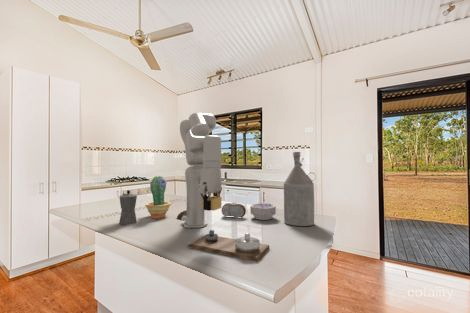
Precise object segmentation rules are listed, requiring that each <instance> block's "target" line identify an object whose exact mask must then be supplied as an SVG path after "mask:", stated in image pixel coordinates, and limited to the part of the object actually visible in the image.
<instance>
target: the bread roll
mask: <svg viewBox="0 0 470 313" xmlns="http://www.w3.org/2000/svg"><path fill="white" fill-rule="evenodd" d="M183 216H187V209H186V210H183V211H180V212H179V213H178V215H177V216H176V218H177V219H179V220H180V221H182V220H181V218H182V217H183Z"/></svg>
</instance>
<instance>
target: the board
mask: <svg viewBox="0 0 470 313" xmlns="http://www.w3.org/2000/svg"><path fill="white" fill-rule="evenodd" d="M236 239H237V238H231V237H230V238H229V237H225V236H218V241H216V242H207V241H206V234H205V235H202V236H201V237H199V238H197V239H195V240H192V241H191V242H189V243H188V248H191V249H195V250H199V251H204V252H208V253H209V252H210V253H212V254H213V253H215V254H220V255H223V256H227V257H231V258H232V257H233V258H238V259H243V260H247V261H253V262H255V263H256V262H258V261H260V260H261V258H262V257H264V255H265V254H266V253H267V252H268V251H269V250H270V244H267V243H266V244H265V243H260V242H259V251H258V252H256V253H250V254H246V253H240V252H238V251H236V250H235V240H236Z"/></svg>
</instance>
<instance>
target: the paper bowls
mask: <svg viewBox="0 0 470 313" xmlns="http://www.w3.org/2000/svg"><path fill="white" fill-rule="evenodd" d="M249 207H250V214H251V215H252V216H253V217H254V219H255V218H256V220H258V219H259V220H258V221H267V220H272V218H273V217H274V216H275V215H277V211H276V210H277V209H276V205H275V204H273V203H265V202H264V203H260V202H259V203H253V204H251V205H250V206H249Z"/></svg>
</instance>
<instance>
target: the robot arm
mask: <svg viewBox="0 0 470 313" xmlns="http://www.w3.org/2000/svg"><path fill="white" fill-rule="evenodd" d="M179 123H180V125H179V133H180V137H181V139H182V142H183V144H184V149H185V158H186V159H185V160H186V163H187V165H189V166H188V167H187V168H186V169H185V170H184V171H185V172H184V174H185V175H184V176H185V177H184V178H185V184H186V210H187V216H183V217H182V218H181V220H180V221H184V222H183V227H185V228H187V229H199V228H204V227H206V226H208V222H207V221H206V220H205V211H212V210H211V200H210V196H215V197H221V192H222V190H223V187H222V183H223V182H222V138H221V136H219V135H215V134H214V135H211V134H210V133H212V132H213V131H214V130H215V128H216V126H217V120H216V117H215V116H214V115H213V114H212V113H205V112H203V113H202V112H193V113H192V114H190V116H189V117H188V119H184V120H182V121H181V122H179ZM202 198H203V209H201V201H202Z"/></svg>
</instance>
